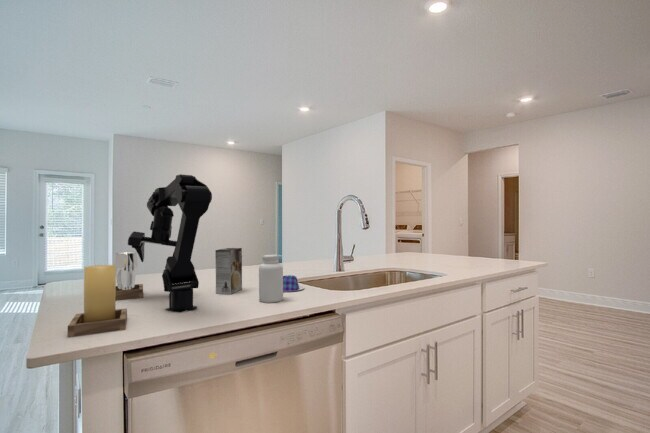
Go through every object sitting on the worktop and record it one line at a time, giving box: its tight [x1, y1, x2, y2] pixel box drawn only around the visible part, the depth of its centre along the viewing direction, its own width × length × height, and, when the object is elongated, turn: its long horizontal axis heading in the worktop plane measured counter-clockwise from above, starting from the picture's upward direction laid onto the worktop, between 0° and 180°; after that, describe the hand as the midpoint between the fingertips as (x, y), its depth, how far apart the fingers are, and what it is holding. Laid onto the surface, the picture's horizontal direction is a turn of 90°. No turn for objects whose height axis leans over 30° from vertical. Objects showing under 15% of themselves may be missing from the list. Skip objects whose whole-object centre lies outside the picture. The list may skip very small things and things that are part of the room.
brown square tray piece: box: [67, 308, 128, 338], centre depth 86 cm, size 11×11×3 cm
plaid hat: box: [283, 274, 305, 293], centre depth 132 cm, size 12×12×5 cm
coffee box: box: [215, 247, 243, 295], centre depth 128 cm, size 9×6×16 cm
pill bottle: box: [258, 254, 284, 304], centre depth 114 cm, size 8×8×15 cm
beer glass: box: [114, 251, 138, 291], centre depth 121 cm, size 7×7×15 cm
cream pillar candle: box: [83, 264, 117, 323], centre depth 86 cm, size 7×7×15 cm
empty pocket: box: [115, 283, 144, 301], centre depth 121 cm, size 11×11×3 cm
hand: (156, 263), depth 122 cm, fingers open, 9 cm apart
